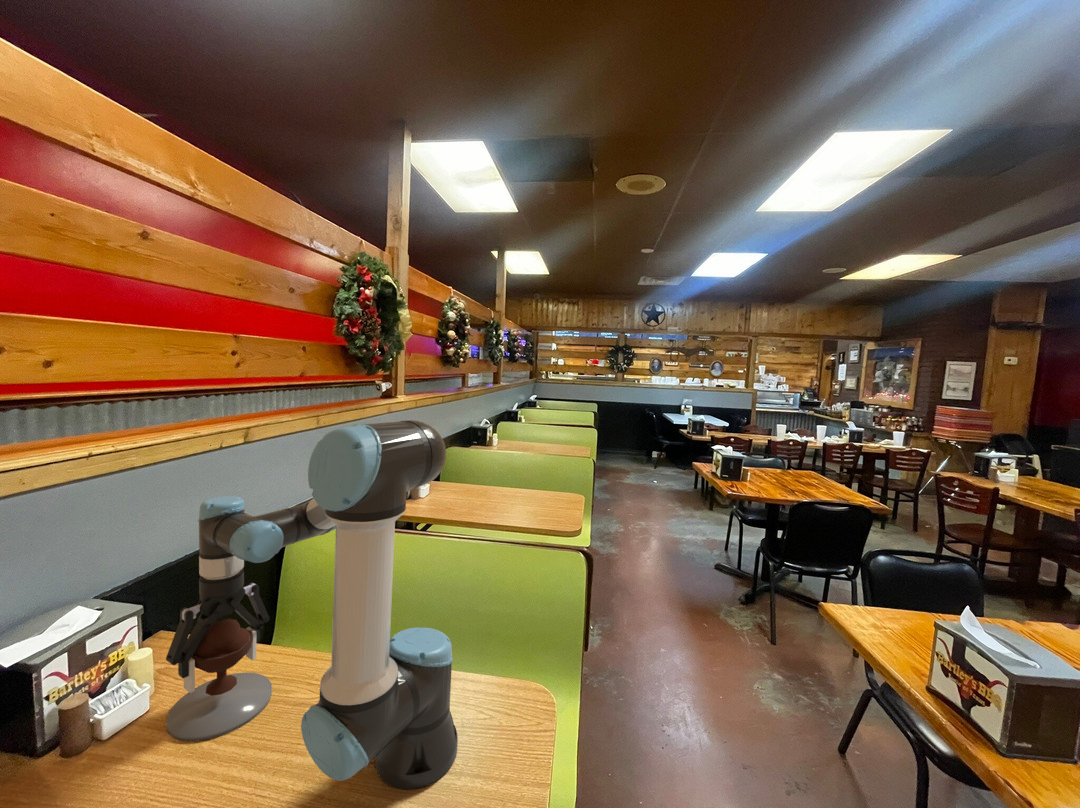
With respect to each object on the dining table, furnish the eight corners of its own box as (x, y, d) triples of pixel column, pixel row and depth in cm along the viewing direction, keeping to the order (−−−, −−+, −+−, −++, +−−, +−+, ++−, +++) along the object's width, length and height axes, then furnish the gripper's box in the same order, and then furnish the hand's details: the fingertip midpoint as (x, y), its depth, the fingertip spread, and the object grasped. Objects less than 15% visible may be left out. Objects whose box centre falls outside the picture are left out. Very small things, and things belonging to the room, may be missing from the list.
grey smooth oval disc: (289, 696, 97) (289, 691, 97) (194, 756, 81) (194, 751, 81) (243, 666, 106) (243, 662, 106) (149, 716, 90) (149, 711, 90)
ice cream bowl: (263, 669, 99) (264, 605, 98) (227, 707, 88) (227, 635, 86) (216, 666, 99) (216, 602, 98) (174, 704, 88) (174, 632, 87)
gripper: (268, 549, 103) (268, 638, 105) (142, 590, 83) (143, 700, 84) (288, 557, 100) (287, 649, 101) (160, 601, 79) (161, 716, 81)
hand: (221, 672), depth 93 cm, fingers closed on ice cream bowl, 11 cm apart
